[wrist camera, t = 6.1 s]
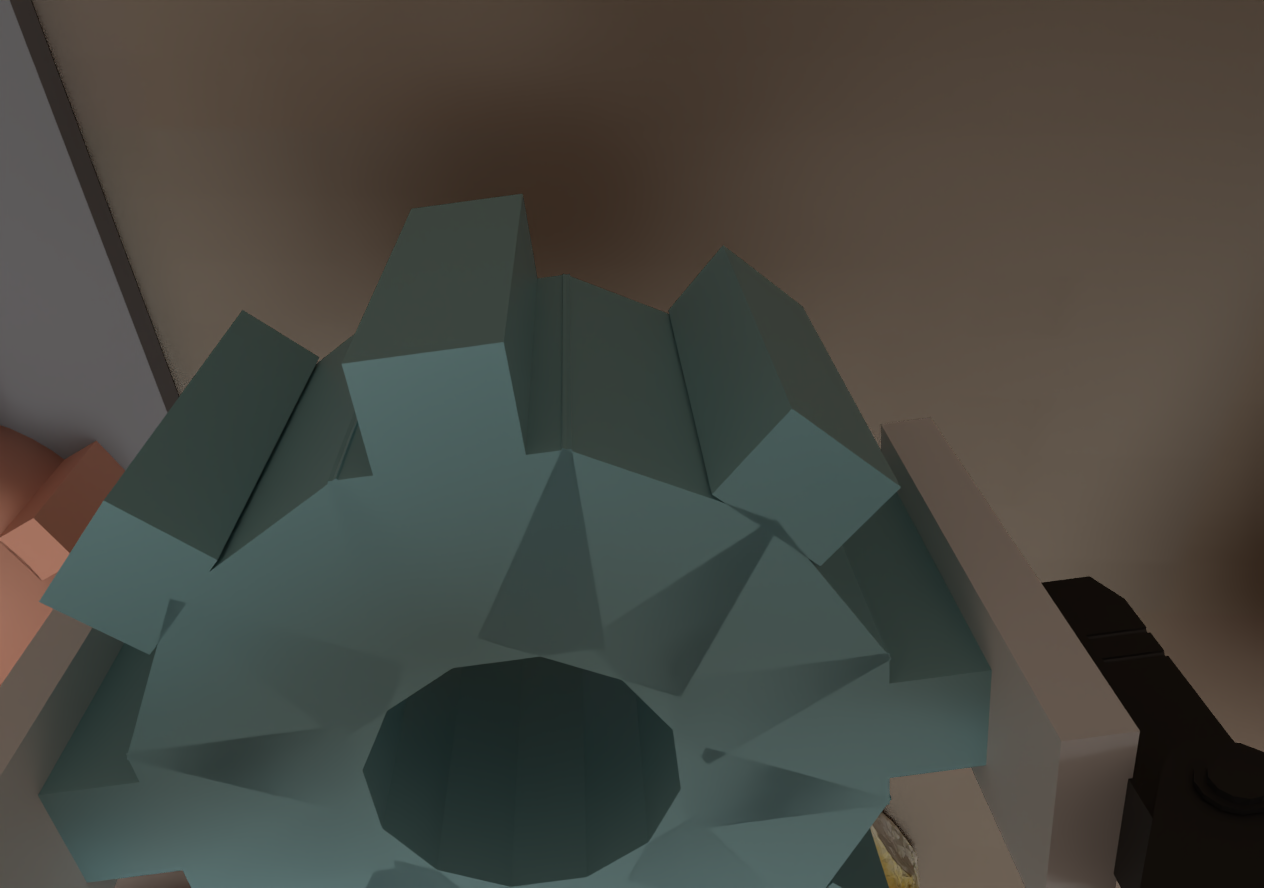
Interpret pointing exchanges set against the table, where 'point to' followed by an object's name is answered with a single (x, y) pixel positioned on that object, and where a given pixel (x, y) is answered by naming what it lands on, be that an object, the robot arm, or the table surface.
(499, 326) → the teal gear
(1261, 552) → the table surface
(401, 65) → the table surface
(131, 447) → the gear board
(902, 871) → the bread roll
